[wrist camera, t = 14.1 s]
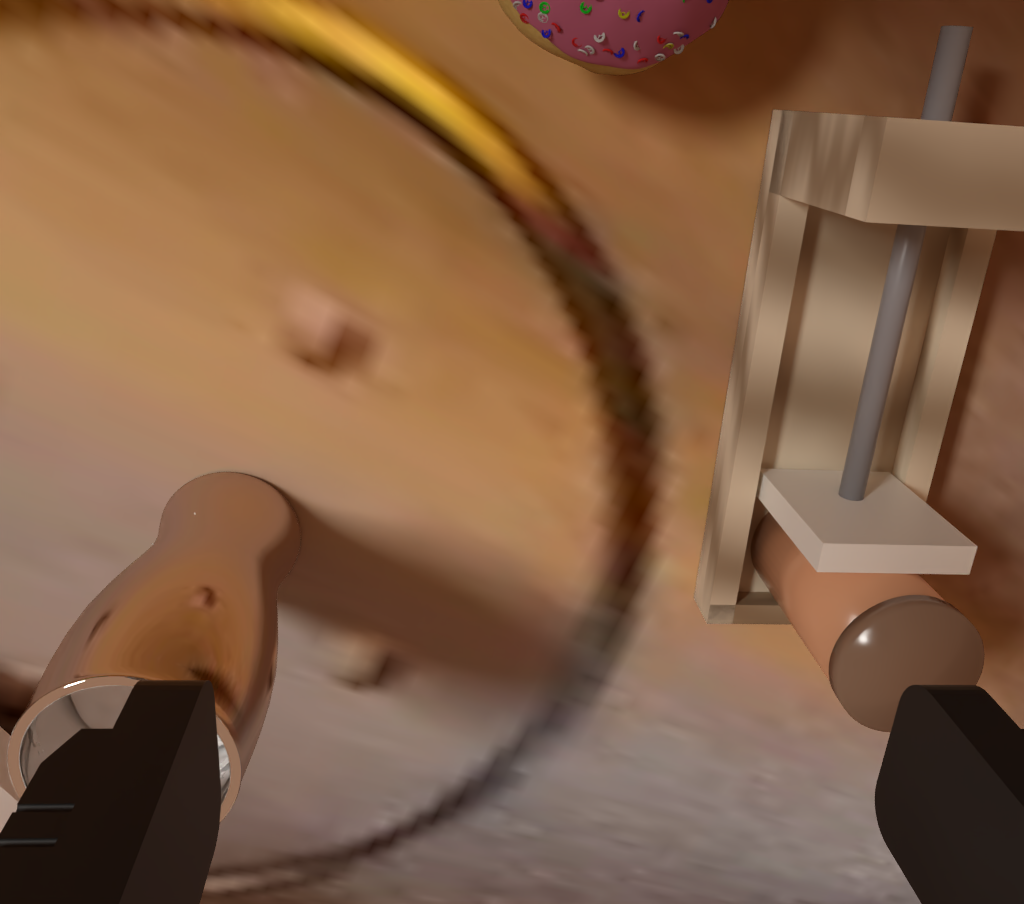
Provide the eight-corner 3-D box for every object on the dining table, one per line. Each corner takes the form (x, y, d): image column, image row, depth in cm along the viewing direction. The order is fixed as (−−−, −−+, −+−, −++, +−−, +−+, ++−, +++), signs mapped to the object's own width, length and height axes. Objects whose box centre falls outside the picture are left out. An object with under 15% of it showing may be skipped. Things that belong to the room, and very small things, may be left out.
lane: (773, 109, 35) (887, 117, 26) (990, 124, 36) (1171, 137, 27) (694, 598, 43) (760, 728, 34) (872, 600, 44) (981, 728, 35)
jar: (759, 488, 40) (855, 605, 31) (874, 491, 41) (1001, 607, 31) (739, 593, 42) (824, 732, 33) (849, 594, 43) (962, 732, 33)
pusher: (839, 25, 33) (939, 9, 26) (993, 37, 33) (1129, 25, 27) (754, 493, 40) (816, 572, 33) (883, 496, 40) (969, 574, 34)
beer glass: (340, 509, 40) (291, 734, 26) (265, 625, 42) (182, 892, 28) (195, 432, 38) (58, 631, 24) (123, 557, 40) (-41, 807, 26)
